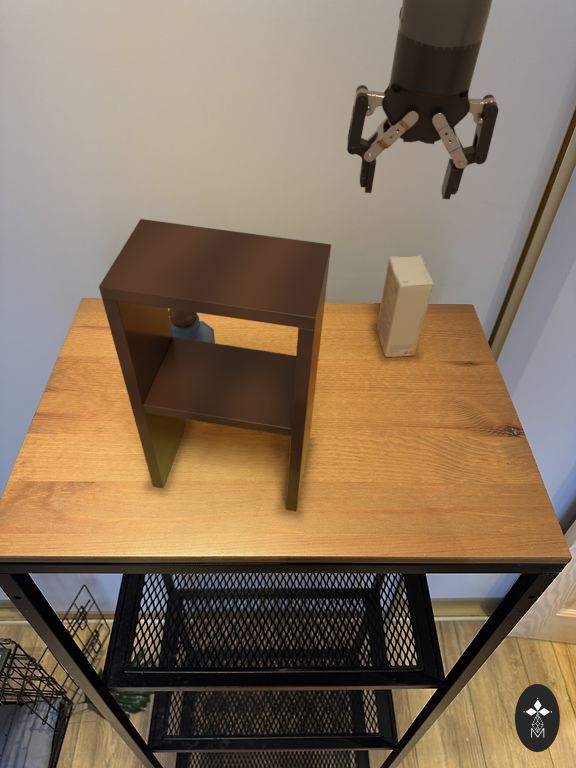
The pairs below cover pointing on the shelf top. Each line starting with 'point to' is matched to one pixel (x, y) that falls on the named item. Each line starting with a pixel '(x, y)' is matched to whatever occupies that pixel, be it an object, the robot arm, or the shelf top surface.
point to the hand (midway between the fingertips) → (406, 192)
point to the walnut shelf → (210, 360)
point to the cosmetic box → (403, 305)
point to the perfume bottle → (190, 326)
